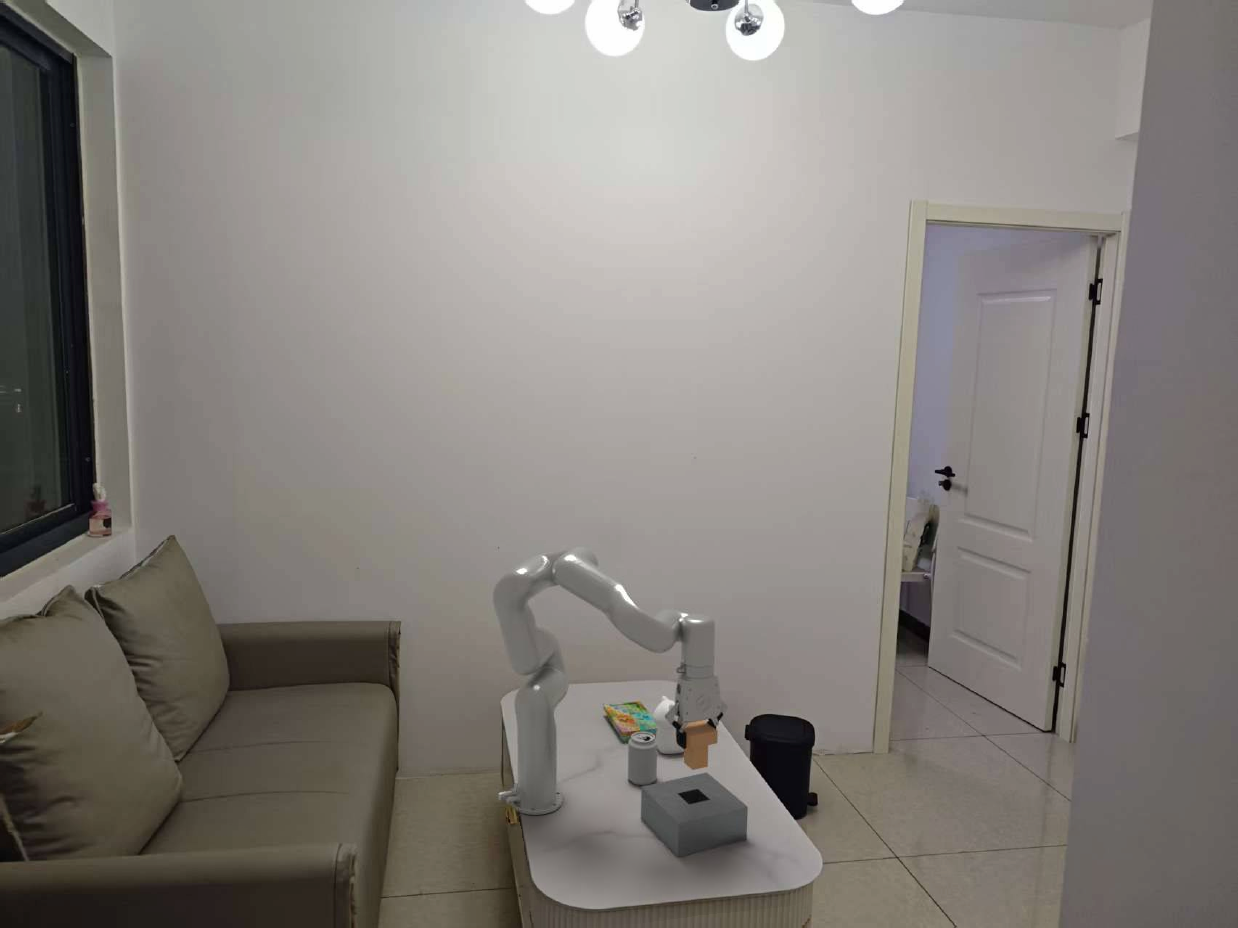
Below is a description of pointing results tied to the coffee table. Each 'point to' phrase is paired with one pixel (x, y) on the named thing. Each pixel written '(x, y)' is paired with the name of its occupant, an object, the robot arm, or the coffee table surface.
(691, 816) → the grey square socket block
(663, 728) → the cat figurine
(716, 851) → the coffee table surface
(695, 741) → the tan cardboard box
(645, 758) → the can
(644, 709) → the puzzle game
